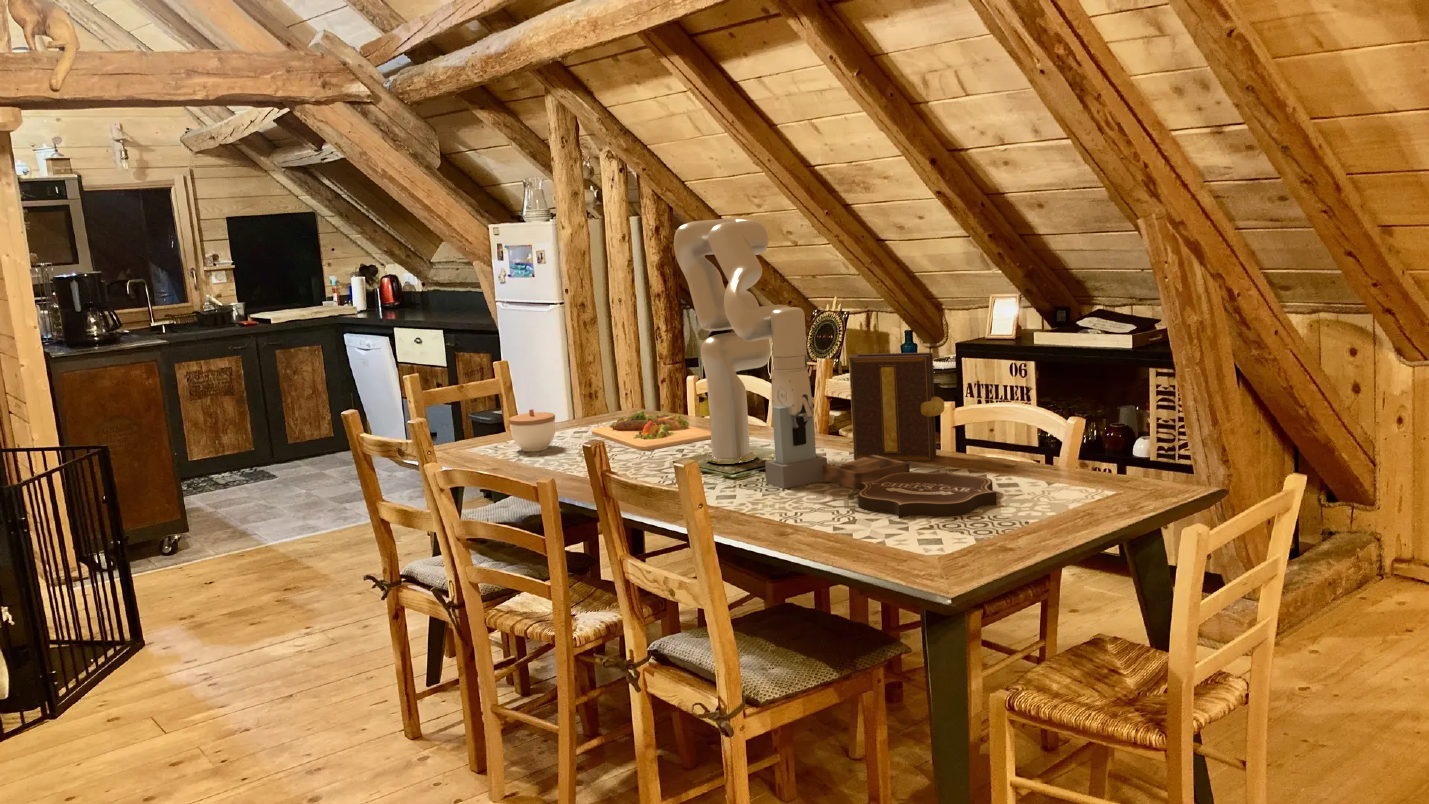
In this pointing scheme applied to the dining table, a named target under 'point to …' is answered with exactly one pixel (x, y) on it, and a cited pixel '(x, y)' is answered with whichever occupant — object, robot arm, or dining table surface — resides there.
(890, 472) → the square wooden tray
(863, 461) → the offcut top
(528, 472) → the dining table surface
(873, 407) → the book
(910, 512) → the decorative plaque
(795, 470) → the holder
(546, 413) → the lidded bowl
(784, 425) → the panel
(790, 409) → the robot arm
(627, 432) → the cutting board
